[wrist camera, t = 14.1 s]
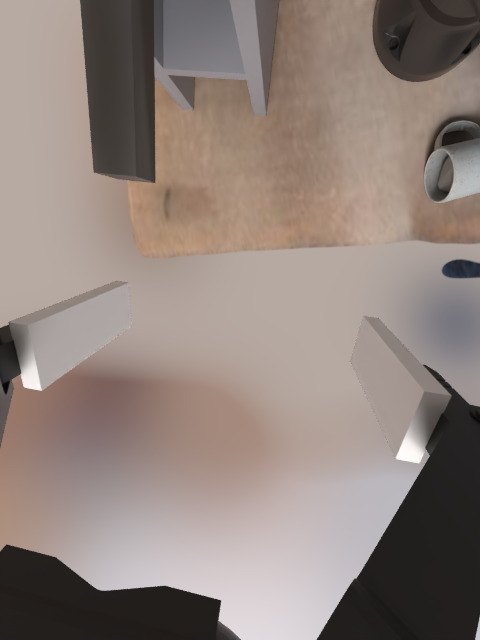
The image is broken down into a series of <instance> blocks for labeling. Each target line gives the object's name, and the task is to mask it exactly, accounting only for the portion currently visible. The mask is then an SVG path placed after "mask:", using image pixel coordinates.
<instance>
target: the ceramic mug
mask: <svg viewBox="0 0 480 640" xmlns="http://www.w3.org/2000/svg"><path fill="white" fill-rule="evenodd" d="M462 130H465V131H467V132H468V133H470V134H471V136H472V137H473V140H469V141H464V142H459V143H455V144H451V145H446V146H442V137H443V134H445V133H447V132H452V131H462ZM424 185H425V191H426V193H427V195H428V197H429V199H430V200H431V201H433V202H435V203H443V202H447V201H450V200H454V199H458V198H461V197H465V196H468V195H471V194H475V193H479V192H480V127H479V125H478V124H476V123H474V122H472V121H468V120H460V121H455V122H452V123H450V124H448V125H447V126H446V127H444V129H443V130H442V131H441V132H440V134H439V135H438V137H437V139H436V141H435V147H434V151H433V152H432V154H431V155H430V157H429V158H428V161H427V163H426V167H425V172H424Z"/></svg>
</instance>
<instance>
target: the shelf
mask: <svg viewBox="0 0 480 640" xmlns="http://www.w3.org/2000/svg"><path fill="white" fill-rule="evenodd" d="M278 7H279V0H154V76H155V77H156V79H157V80H158V81H159V82H160V83H161V85H162V86H163V87H164V88H165V89H166V91H167V92H168V93H169V94H170V96H171V97H172V98H173V99H174V100H175V102H176V103H177V104H178V105H179V106H180V108H181V109H184V110H194V88H195V77H205V78H220V79H236V80H247V85H248V90H249V95H250V99H251V104H252V109H253V113H254V115H263V116H266V112H267V103H268V95H269V86H270V77H271V68H272V59H273V51H274V42H275V33H276V24H277V16H278Z"/></svg>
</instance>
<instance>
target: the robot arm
mask: <svg viewBox="0 0 480 640" xmlns="http://www.w3.org/2000/svg"><path fill="white" fill-rule="evenodd" d="M373 39H374V45H375V49H376V52H377V55H378V57H379V59H380V61H381V62H382V64H383V65H384V67H385V68H386V69H387V70H388V71H389V72H390V73H391V74H393V75H394V76H396V77H398V78H400V79H403V80H406V81H412V82H420V81H427V80H431V79H434V78H437V77H439V76H441V75H443V74H445V73H447V72H448V71H450V70H451V69H453V68H454V67H455V66H457V65H458V64H459V63H460V62H461V61H463V60H464V59H465V58H466V57H467V56H468V55H469V54H470V53H471V52H472V51H473V50H474V49H475V48H476V47H477V46H478V45H479V44H480V0H378V1H377V4H376V8H375V12H374V19H373ZM130 327H131V310H130V293H129V283H128V282H121V281H115V282H112V283H110V284H107V285H104V286H102V287H99V288H97V289H94V290H92V291H89V292H86V293H83V294H81V295H79V296H76V297H73V298H70V299H68V300H65V301H62V302H60V303H57V304H55V305H52V306H49V307H47V308H44V309H42V310H39V311H36V312H34V313H31V314H28V315H26V316H23V317H20V318H18V319H15V320H13V321H10V322H9V325H7V326H4V327H2V328H0V446H1V442H2V438H3V433H4V429H5V424H6V420H7V415H8V411H9V407H10V402H11V398H12V394H13V389H14V388H13V383H12V379H13V378H15V377H16V376H18V375H20V374H21V377H22V381H23V385H24V387H26V388H30V389H36V390H41V391H42V390H43V389H45V388H46V387H47V386H49V385H50V384H52V383H53V382H54V381H56V380H57V379H59V378H60V377H61V376H63V375H64V374H66V373H67V372H68V371H70V370H71V369H73V368H74V367H75V366H77V365H78V364H79V363H81V362H82V361H84V360H85V359H87V358H88V357H89V356H91V355H92V354H93V353H95V352H96V351H97V350H99V349H100V348H102V347H103V346H105V345H106V344H107V343H109V342H110V341H112V340H113V339H114V338H116V337H117V336H119V335H120V334H121V333H123V332H124V331H126V330H127V329H128V328H130ZM350 362H351V364H352V366H353V369H354V371H355V373H356V375H357V377H358V379H359V382H360V384H361V386H362V388H363V390H364V392H365V394H366V396H367V399H368V401H369V403H370V405H371V407H372V409H373V412H374V414H375V416H376V418H377V420H378V422H379V425H380V427H381V429H382V431H383V433H384V435H385V437H386V440H387V442H388V444H389V446H390V448H391V450H392V452H393V455H394V457H395V459H399V460H404V461H409V462H415V463H420V461H421V459H422V457H423V455H424V452H425V450H427V452H428V453H429V455H430V457H429V459H428V460H427V462H426V464H425V465H424V467H423V469H422V470H421V472H420V474H419V475H418V477H417V479H416V480H415V482H414V484H413V486H412V487H411V489H410V490H409V492H408V494H407V495H406V497H405V499H404V500H403V502H402V504H401V505H400V507H399V509H398V511H397V512H396V514H395V516H394V517H393V519H392V521H391V522H390V524H389V526H388V527H387V529H386V531H385V532H384V534H383V536H382V537H381V539H380V541H379V542H378V544H377V546H376V547H375V549H374V551H373V553H372V554H371V556H370V557H369V559H368V561H367V563H366V564H365V566H364V568H363V569H362V571H361V573H360V574H359V576H358V577H357V579H354V580H353V582H352V583H351V584H350V586H349V588H348V589H347V591H346V592H345V594H344V595H343V597H342V599H341V601H340V602H339V604H338V605H337V607H336V609H335V610H334V612H333V614H332V615H331V617H330V619H329V620H328V622H327V624H326V625H325V627H324V629H323V630H322V632H321V634H320V635H319V637H318V638H317V640H475V637H476V632H477V627H478V622H479V617H480V407H478V406H474V405H469V404H468V403H467V402H466V401H465V400H464V399H463V398H462V397H461V396H460V395H459V394H458V393H457V392H456V391H455V390H454V389H452V387H451V386H450V385H449V384H448V383H447V382H445V380H444V379H443V378H442V376H441V375H439V373H437V372H436V371H434V370H433V369H431V368H429V367H428V366H426V365H422V364H421V363H420V362H419V361H418V360H417V359H416V358H415V356H414V355H413V354H412V353H411V352H410V351H409V350H408V349H407V348H406V347H405V346H404V345H403V344H402V343H401V342H400V341H399V339H397V337H396V336H395V335H394V334H393V333H392V332H391V331H390V330H389V329H388V328H387V327H386V326H385V325H384V324H383V323H382V321H381V320H380V319H379V318H374V317H367V316H363V319H362V322H361V326H360V329H359V332H358V336H357V339H356V343H355V346H354V350H353V353H352V356H351V360H350ZM220 605H221V600H218V599H214V598H210V597H206V596H202V595H198V594H194V593H191V592H187V591H183V590H179V589H175V588H171V587H168V586H157V587H145V588H134V589H122V590H111V591H100V590H97V589H96V588H94V587H93V586H92V585H90V584H89V583H88V582H86V581H85V580H84V579H83V578H81V577H80V576H79V575H77V574H76V573H75V572H74V571H72V570H71V569H70V568H69V567H67V566H66V565H65V564H63V563H62V562H61V561H60V560H58V559H57V558H56V557H52V556H49V555H45V554H41V553H37V552H33V551H29V550H26V549H22V548H18V547H14V546H10V545H6V546H5V547H4V548H3V549H2V550H1V551H0V640H241V639H239V637H238V636H236V635H235V634H234V633H233V632H232V631H231V630H230V629H229V628H227V627H226V626H225V625H223V624H222V623H221V622H219V621H218V619H219V612H220Z"/></svg>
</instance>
